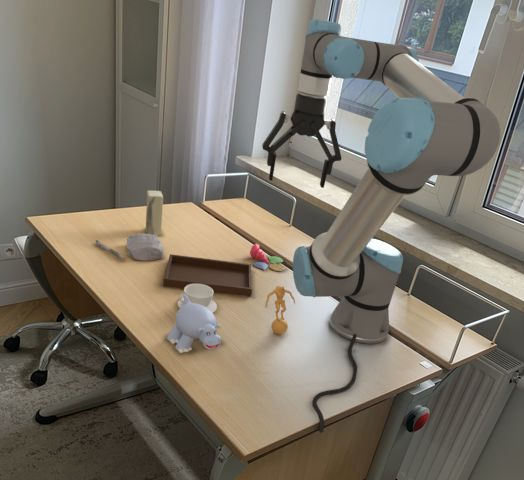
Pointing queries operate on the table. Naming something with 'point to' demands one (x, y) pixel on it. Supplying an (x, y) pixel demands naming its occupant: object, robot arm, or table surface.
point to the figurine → (279, 324)
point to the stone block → (144, 247)
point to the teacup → (199, 296)
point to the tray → (209, 274)
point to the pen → (108, 249)
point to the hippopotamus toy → (194, 327)
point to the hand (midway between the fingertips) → (296, 182)
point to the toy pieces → (265, 259)
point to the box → (154, 212)
